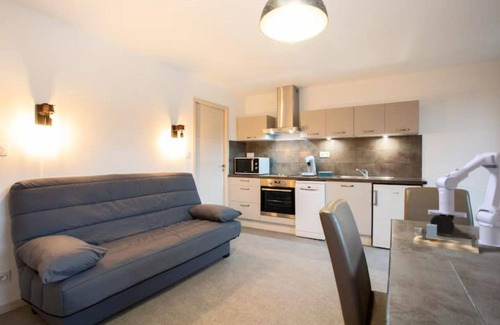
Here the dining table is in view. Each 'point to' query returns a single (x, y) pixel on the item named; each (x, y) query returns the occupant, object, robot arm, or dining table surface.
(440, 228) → the black cylinder
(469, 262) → the dining table surface
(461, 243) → the cord board
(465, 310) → the dining table surface
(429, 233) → the light blue block
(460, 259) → the dining table surface
